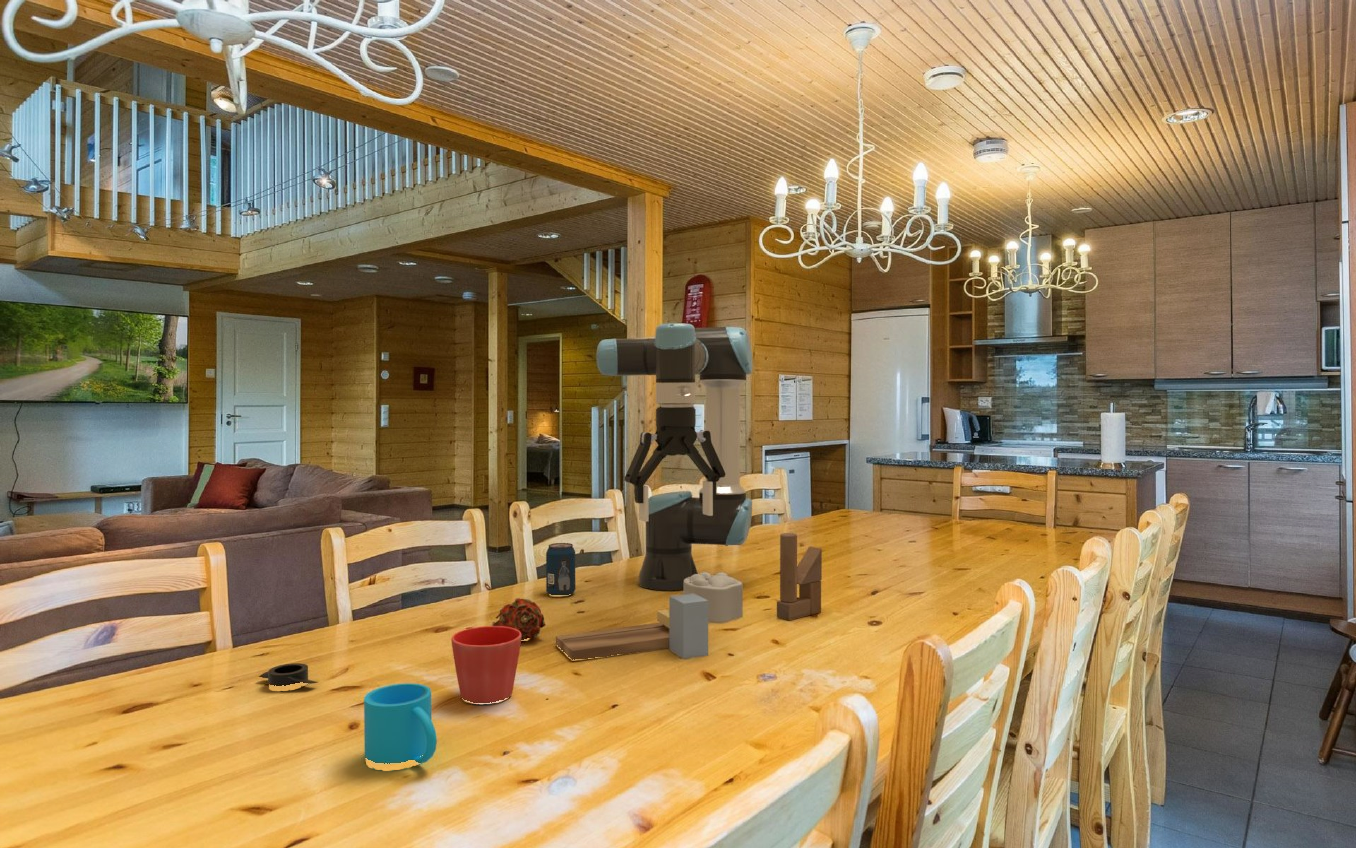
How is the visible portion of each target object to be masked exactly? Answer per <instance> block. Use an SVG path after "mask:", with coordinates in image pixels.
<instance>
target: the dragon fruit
mask: <svg viewBox="0 0 1356 848" xmlns="http://www.w3.org/2000/svg"><path fill="white" fill-rule="evenodd" d="M495 619H498V620H496V621H493V622H492V624H491V626H504V627H511V628H514V629H517V630H519V631H520V632H521V634H522V637H521V640H524V639H527V638H531V639H532V638H535V637H537V636H538V635H539V634H540V632H541V629H543V628H544V627H546V621H545V617H544V615H543V613H542V611H541V608H540V607H539V605H538V604H537V603H535V602H533V601H532V600H531V599H528V598H519V597H518V598H515V600H514V601H513V602H511V603H507V604H506V605H505V604H504V605H503V607H502V608H501V609H500V610H499V613H498V615H496V617H495Z"/></svg>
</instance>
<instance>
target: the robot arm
mask: <svg viewBox="0 0 1356 848" xmlns="http://www.w3.org/2000/svg"><path fill="white" fill-rule="evenodd" d="M595 358H596V365H597V369H598V371H599V373H600V374H602V375H603V376H611V377H620V376H621V377H622V376H623V377H626V376H628V377H629V376H655V404H656V405H658V406H657V407H656V408H655V427H656V430H655V433H650V432H645V431H642V432H641V433H640V436H639V444H638V447H637V449H636V451H635V454H634V455H633V457H632V460H631V462H630V465H629V467H628V469H627V472H626V473H625V476H624V482H626V483H629V484H632V485H633V486H634V488H633V490H634V494H633V495H634V502H635V503H636V504H638V520H640V521H642V522H645V555H644V558H643V562H642V565H641V568H640V572H639V573H638V586H640V585H641V586H640V587H642V588H644V587H646V588H645V589H648V588H649V589H648V590H655V591H679V590H681V591H682V590H683V591H684V589H683V587H684V580H685V579H686V578H688V577H691V576H692V575H694V574H699V572H698V570H697V569H698V568H697V566H696V563H695V561H694V558H693V553H692V552H693V551H692V547H693V546H692V545H714V546H725V547H728V546H742V545H744V544H745V542H746V541H747V538H748V536H749V532H750V529H751V522H752V514H753V513H752V512H753V501H752V499H750V498H748V497H747V495H746V493H747V491H746V489H744V487H742V485H741V483H740V482H741V478H740V477H741V476H740V474H741V471H740V470H741V464H740V463H741V388H742V387H743V386H744V384H746V382H747V375H751V374H752V373H753V371H754V369H753V364H754V363H753V362H754V361H753V353H752V347H751V341H750V338H749V334H748V332H747V330H746V329H744V328H742V327H739V326H737V327H736V326H714V327H713V326H712V327H695V326H694V325H693V324H691V323H682V322H681V323H679V322H678V323H675V322H674V323H673V322H672V323H670V322H669V323H661V324H658V325H657V326H656V328H655V334H654V335H652V337H632V338H611V339H610V338H609V339H601V341H599V343H598V345H597V349H596V357H595ZM696 375H698V376H699V382H700V384H701V386H703V387H704V388H705V429H700V430H699V431H696V416H697V415H696V413H697V412H696V411H697V410H696V408H695V406H693V405H695V404H696ZM696 441H698V442H699V443H700V447H701V448H702V451H703V453H704V456H705V457H702V455H701V454H700V452H699V449H697V447H696V446H695V445H694V443H696ZM654 442H655V443H656V444H657V446H656V448H655V449H654V450H653V452H652V455H651V456H650V458H649V459H648V460H647V461H646V458H647V456H648V453H649V451H650V449H651V445H653V444H654ZM677 455H680V456H688V458H689V459H690V460H691V461H692V463H693V464H694V465H695V467H696V468H697V469H698V470H699V471H700V472H701V474H702V475H703V476H704V477H705V480H702V487H701V488H700V489H699V491H698V493H699V497H695V496H693V494H692V492H691V491H689V490H687V491H686V490H683V491H682V490H680V491H672V492H665V493H658V494H655V495H650V496H649V485H645V484H646V483H647V481H648V480H649V479H650V477H651V476H652V474H653V473H654V472H655V470H656V469H657V468H658V466H660V464H661V462H662V461H663V459H665V458H666V457H667V456H669V457H670V456H672V457H673V456H674V457H675V456H677ZM645 461H646V463H645ZM644 463H645V464H644Z"/></svg>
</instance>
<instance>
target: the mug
mask: <svg viewBox="0 0 1356 848" xmlns="http://www.w3.org/2000/svg"><path fill="white" fill-rule="evenodd" d="M363 706H364V707H363V712H364V713H363V714H364V715H363V718H364V719H363V721H364V722H363V724H364V725H363V726H364V727H363V728H364V734H363V735H364V738H363V739H364V759H365V758H367V759H368V760H371V761H373V762H375V763H384V764H385V763H387V764H388V763H389V764H390V763H401V762H406V761H408V760H415V761H416V762H418V763H421V764H423V763H427V762H428V761H429V760H430V759H431V758H433V756H434V754H435V752H436V749H437V742H438V739H437V732H436V729H435V725H434V722H433V720H432V690H431V688H430V687H429V686H427V685H425V684H420V683H413V682H412V683H411V682H408V683H396V684H395V683H394V684H389V685H384V686H381V687H379V688H375V689H372V690H371V691H369V692H368V693H366V694H365V696H364V697H363ZM422 755H423V756H422ZM420 756H421V757H420Z"/></svg>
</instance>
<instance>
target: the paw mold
mask: <svg viewBox="0 0 1356 848" xmlns="http://www.w3.org/2000/svg"><path fill="white" fill-rule="evenodd" d="M743 587H744V586H743V582H742V581H740V580H738V579H736V578H734V577H732V576H729V575H728V574H727V573H725V572H722V571H721V572H720V571H719V572H717V573H716V574H715V575H714V574H711V573H710V572H707V571H702V572H699V573H698V574H694V575H692V576H691V577H688V578H686V579H685V580H684V587H683V592H682V593H683V594H682V595H684V594H693V593H694V594H696V595H698V596H700V597H702V598H704V599H706V600H708V623H713V624H714V623H715V624H724V623H728V622H731V621H733V620H736V619H740V618H742V617H743V611H744V610H743V609H744V608H743V604H744V603H743V600H744V599H743V598H744V597H743V593H744V592H743V591H744V590H743Z"/></svg>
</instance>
